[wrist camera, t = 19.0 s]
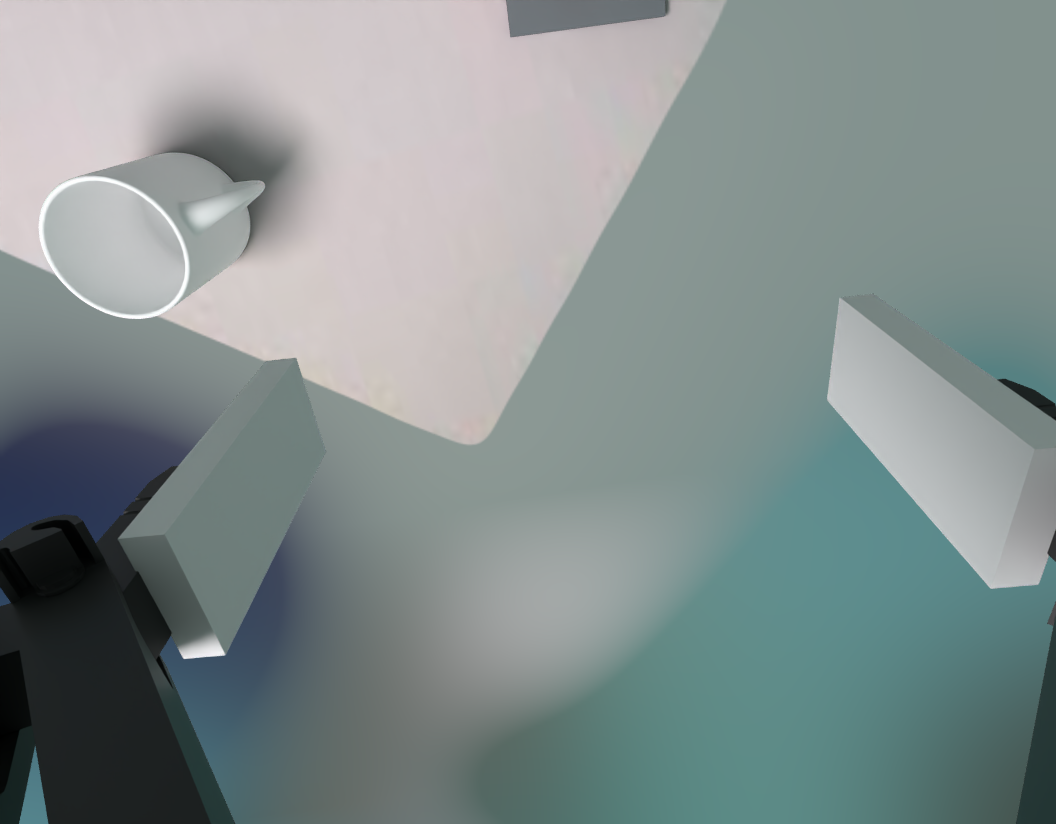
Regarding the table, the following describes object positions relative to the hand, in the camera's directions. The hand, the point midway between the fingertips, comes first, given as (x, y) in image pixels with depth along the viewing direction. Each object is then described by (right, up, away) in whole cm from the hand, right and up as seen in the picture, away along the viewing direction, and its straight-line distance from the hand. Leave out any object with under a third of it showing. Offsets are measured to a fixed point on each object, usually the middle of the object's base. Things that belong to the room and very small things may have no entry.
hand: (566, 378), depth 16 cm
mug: (-24, +15, +32) cm, 42 cm away
